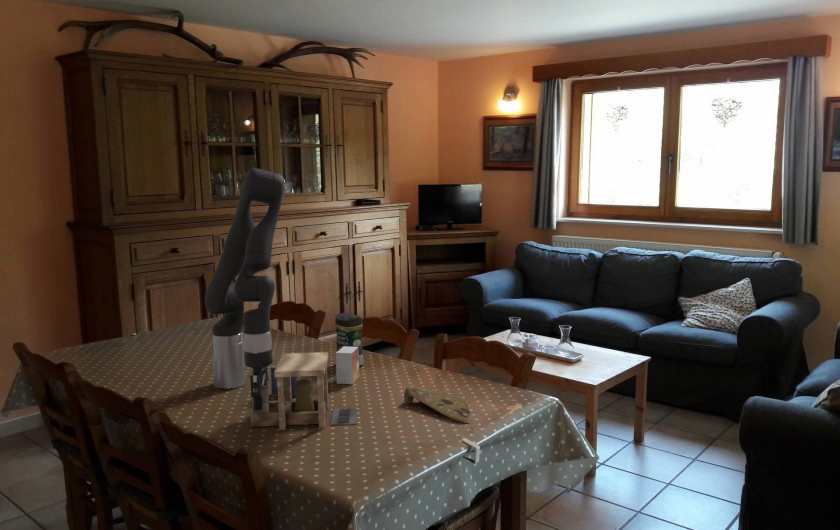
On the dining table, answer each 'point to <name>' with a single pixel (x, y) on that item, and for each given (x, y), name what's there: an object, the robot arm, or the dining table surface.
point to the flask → (293, 380)
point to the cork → (304, 396)
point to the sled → (271, 411)
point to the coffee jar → (349, 332)
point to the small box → (347, 365)
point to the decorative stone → (440, 403)
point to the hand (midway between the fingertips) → (260, 404)
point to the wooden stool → (317, 367)
